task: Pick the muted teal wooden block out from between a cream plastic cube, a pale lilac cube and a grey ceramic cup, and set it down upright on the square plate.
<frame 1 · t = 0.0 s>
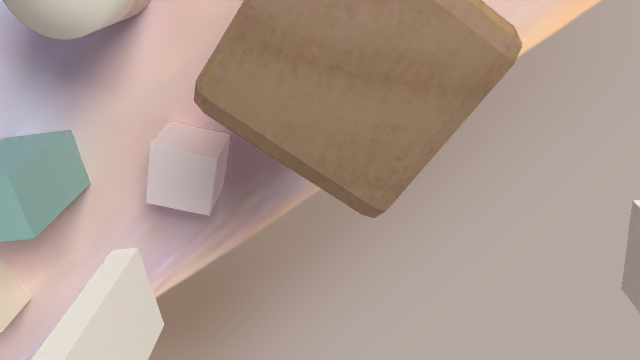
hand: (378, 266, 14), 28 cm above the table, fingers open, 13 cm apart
block: (350, 8, 38), on the table
teal block: (47, 161, 45), on the table
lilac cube: (197, 155, 44), on the table
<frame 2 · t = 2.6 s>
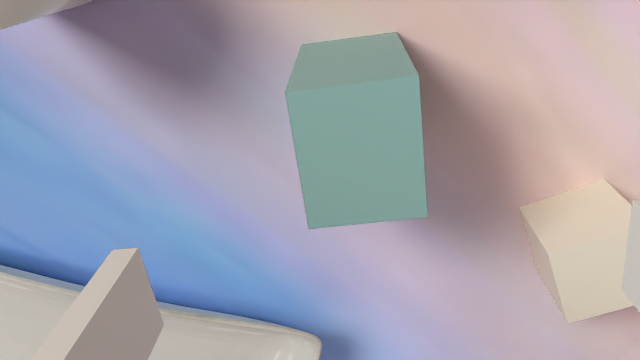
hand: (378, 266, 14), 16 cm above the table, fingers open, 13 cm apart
cream cube: (569, 226, 32), on the table
teal block: (355, 93, 29), on the table
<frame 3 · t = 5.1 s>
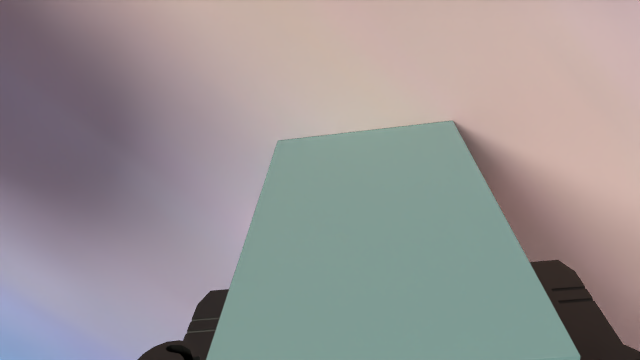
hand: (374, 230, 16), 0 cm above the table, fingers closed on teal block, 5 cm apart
teal block: (373, 221, 16), on the table, touching gripper
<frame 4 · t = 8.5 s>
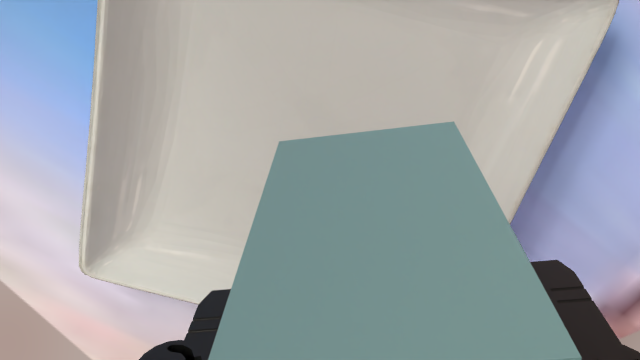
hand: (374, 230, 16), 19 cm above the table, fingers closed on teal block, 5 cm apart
square plate: (313, 135, 35), on the table
teal block: (375, 222, 16), point 18 cm above the table, touching gripper
when the fingers open (6 cm above the table, at t = 11.7 s): teal block drops 2 cm, resting on square plate.
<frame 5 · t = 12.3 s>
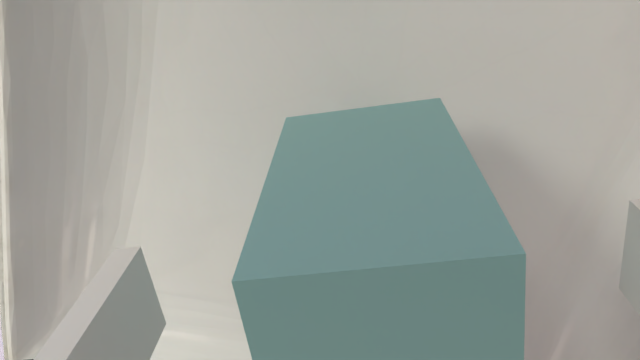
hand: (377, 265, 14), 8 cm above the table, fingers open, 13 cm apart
square plate: (368, 149, 22), on the table, touching teal block
teal block: (371, 190, 18), point 3 cm above the table, touching square plate
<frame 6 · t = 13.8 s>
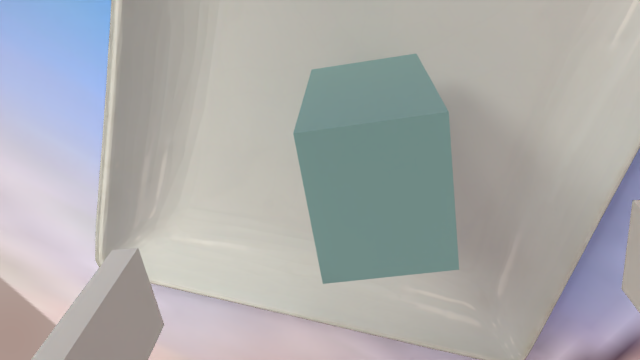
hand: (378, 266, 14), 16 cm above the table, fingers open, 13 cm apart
square plate: (368, 99, 30), on the table, touching teal block
teal block: (371, 121, 26), point 3 cm above the table, touching square plate
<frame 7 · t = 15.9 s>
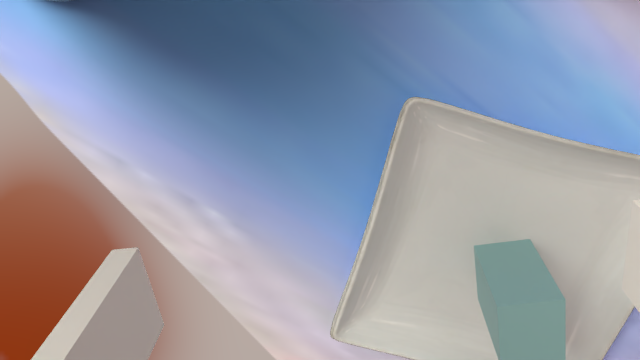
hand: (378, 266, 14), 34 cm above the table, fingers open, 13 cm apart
square plate: (493, 245, 53), on the table, touching teal block
teal block: (503, 269, 49), point 3 cm above the table, touching square plate
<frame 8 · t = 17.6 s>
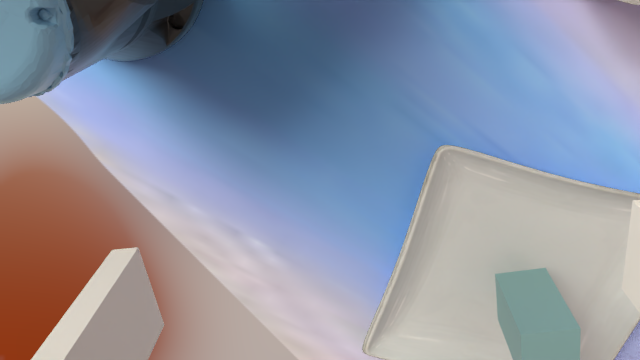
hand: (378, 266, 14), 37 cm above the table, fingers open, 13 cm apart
square plate: (510, 269, 58), on the table, touching teal block
teal block: (520, 294, 55), point 3 cm above the table, touching square plate
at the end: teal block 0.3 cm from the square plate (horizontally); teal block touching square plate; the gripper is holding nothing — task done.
